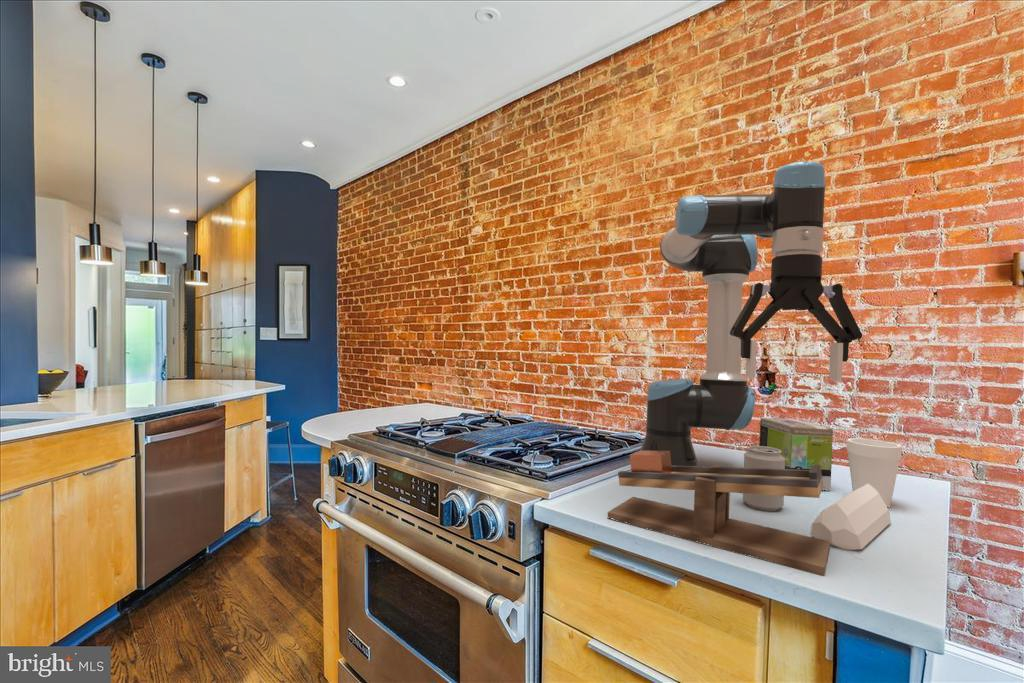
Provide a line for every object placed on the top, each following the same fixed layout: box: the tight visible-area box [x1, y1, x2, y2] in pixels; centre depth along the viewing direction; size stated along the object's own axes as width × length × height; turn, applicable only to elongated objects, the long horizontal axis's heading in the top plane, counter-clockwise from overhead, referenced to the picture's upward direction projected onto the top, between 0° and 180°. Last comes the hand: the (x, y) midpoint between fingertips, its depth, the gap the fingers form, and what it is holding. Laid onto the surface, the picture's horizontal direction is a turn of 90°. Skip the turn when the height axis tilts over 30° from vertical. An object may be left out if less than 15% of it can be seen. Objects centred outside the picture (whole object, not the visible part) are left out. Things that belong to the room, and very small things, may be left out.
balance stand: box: [607, 464, 831, 577], centre depth 85 cm, size 34×12×10 cm, turn 53°
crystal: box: [810, 484, 892, 551], centre depth 88 cm, size 7×7×24 cm
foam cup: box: [846, 437, 903, 508], centre depth 104 cm, size 10×9×13 cm
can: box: [742, 445, 785, 512], centre depth 100 cm, size 8×8×12 cm
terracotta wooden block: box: [629, 449, 672, 473], centre depth 91 cm, size 6×5×4 cm
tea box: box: [759, 417, 834, 492], centre depth 119 cm, size 15×10×15 cm
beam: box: [617, 465, 823, 499], centre depth 85 cm, size 32×8×4 cm, turn 54°
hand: (792, 379), depth 83 cm, fingers open, 13 cm apart
